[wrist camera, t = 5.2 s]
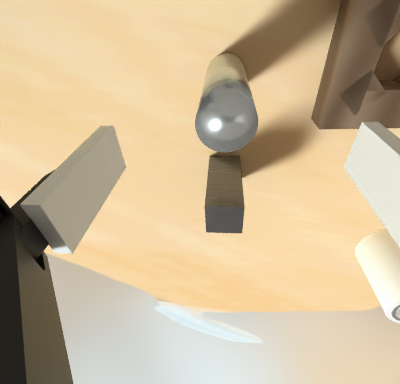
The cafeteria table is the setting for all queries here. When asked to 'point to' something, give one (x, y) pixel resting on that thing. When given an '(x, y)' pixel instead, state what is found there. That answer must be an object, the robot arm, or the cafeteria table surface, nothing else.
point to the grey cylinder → (226, 106)
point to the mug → (382, 269)
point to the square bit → (224, 195)
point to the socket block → (359, 68)
